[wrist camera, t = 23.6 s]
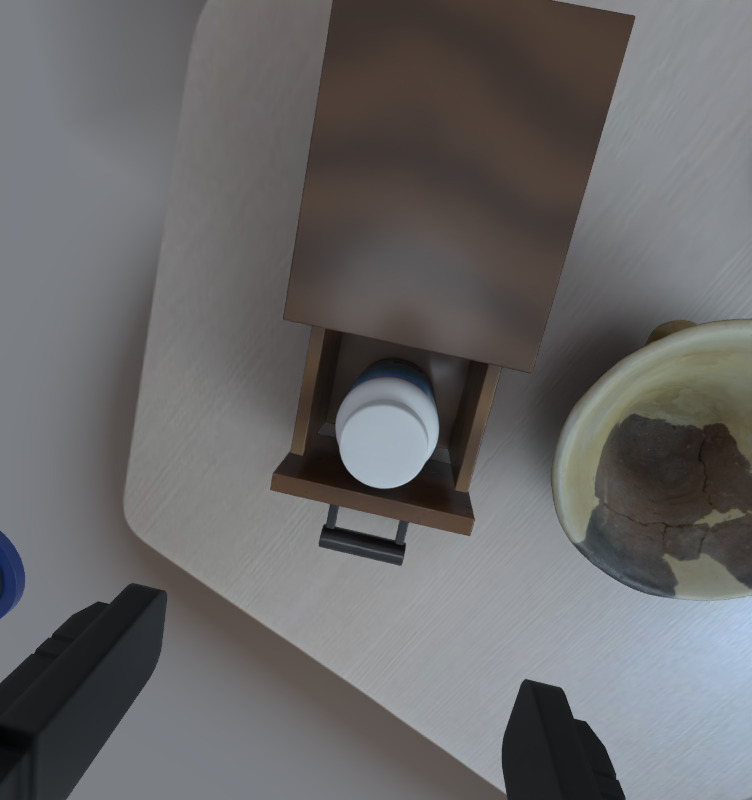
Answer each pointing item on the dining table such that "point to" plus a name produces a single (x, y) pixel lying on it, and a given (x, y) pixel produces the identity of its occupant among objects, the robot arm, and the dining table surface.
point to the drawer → (437, 481)
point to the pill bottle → (388, 424)
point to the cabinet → (450, 170)
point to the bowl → (665, 465)
